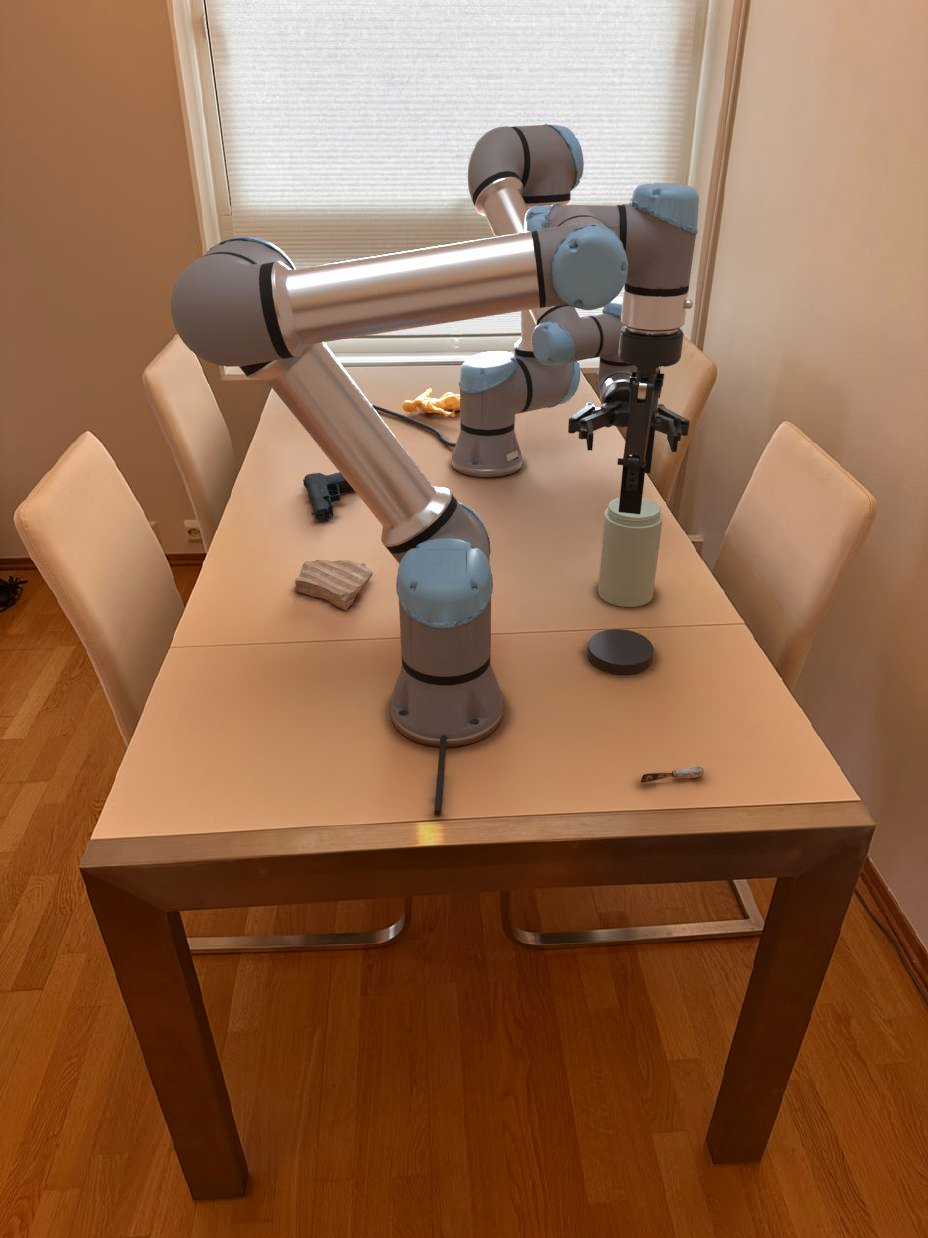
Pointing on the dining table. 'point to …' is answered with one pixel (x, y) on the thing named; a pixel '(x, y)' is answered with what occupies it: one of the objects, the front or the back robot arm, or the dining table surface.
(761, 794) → the dining table surface
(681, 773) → the putty knife
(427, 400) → the human figure
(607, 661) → the lid
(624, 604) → the jar
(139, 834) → the dining table surface
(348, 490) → the handgun
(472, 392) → the back robot arm
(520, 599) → the dining table surface
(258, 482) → the dining table surface
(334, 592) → the stone
